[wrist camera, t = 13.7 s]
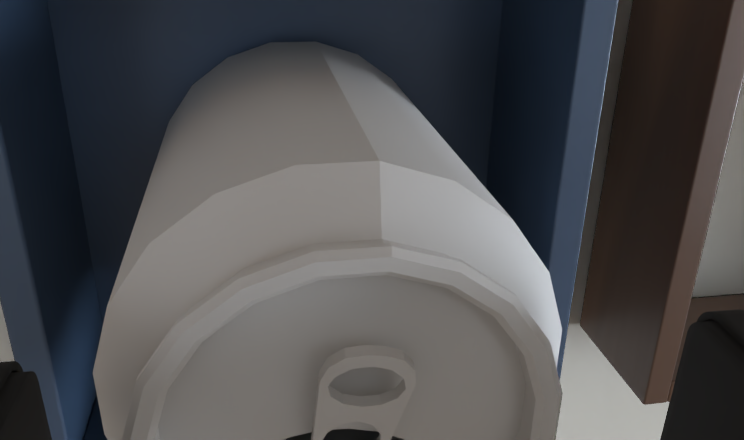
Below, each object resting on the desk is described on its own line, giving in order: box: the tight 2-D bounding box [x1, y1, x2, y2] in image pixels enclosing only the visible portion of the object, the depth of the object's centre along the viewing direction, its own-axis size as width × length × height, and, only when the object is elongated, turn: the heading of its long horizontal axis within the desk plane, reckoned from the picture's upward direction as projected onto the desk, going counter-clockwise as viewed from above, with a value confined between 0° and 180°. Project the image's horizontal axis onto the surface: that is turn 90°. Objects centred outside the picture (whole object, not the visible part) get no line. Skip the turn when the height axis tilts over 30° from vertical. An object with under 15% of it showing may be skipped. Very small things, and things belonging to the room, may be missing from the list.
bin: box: [0, 0, 619, 440], centre depth 18 cm, size 14×14×6 cm
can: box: [93, 42, 562, 440], centre depth 15 cm, size 8×8×12 cm
